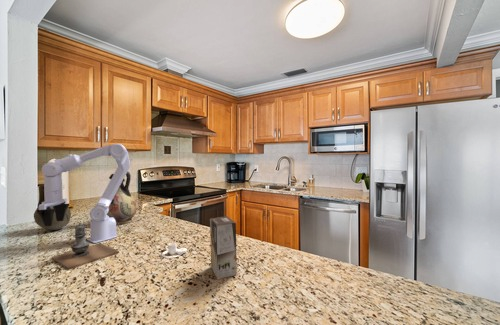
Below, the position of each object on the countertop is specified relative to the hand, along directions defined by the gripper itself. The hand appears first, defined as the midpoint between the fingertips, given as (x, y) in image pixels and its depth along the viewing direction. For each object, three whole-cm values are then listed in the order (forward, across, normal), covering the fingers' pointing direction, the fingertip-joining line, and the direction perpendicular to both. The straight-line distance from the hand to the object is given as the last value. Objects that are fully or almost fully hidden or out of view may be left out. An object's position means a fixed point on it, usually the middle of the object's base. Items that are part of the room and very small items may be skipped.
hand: (54, 223), depth 96 cm
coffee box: (+10, +37, +68) cm, 78 cm away
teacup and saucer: (+10, +22, +51) cm, 57 cm away
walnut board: (+9, +14, +18) cm, 25 cm away
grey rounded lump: (+10, -25, -15) cm, 30 cm away
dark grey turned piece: (+9, +14, +16) cm, 24 cm away
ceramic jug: (+10, -32, +16) cm, 37 cm away
